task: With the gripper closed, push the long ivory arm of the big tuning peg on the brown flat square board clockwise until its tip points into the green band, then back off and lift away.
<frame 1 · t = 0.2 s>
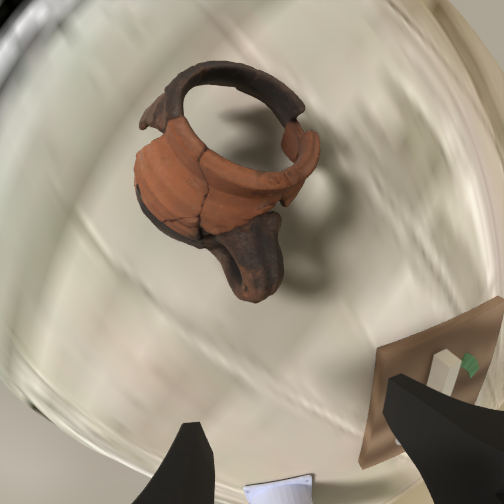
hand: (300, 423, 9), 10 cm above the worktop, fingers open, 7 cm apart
peg lever: (433, 411, 19), point 4 cm above the worktop, hinge at 0.0°
pottery mug: (222, 185, 17), on the worktop
brown flat square board: (435, 388, 23), on the worktop
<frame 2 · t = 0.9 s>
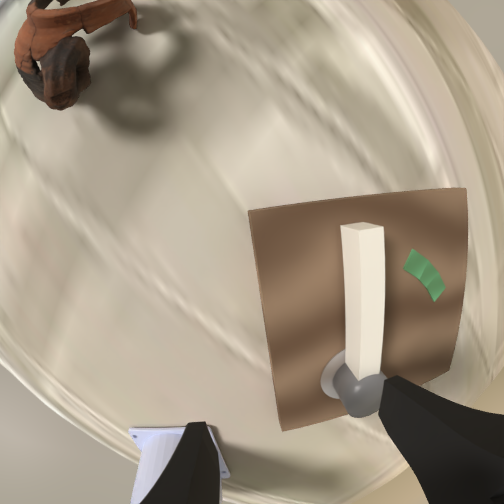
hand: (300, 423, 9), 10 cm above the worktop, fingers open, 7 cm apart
peg lever: (365, 331, 16), point 4 cm above the worktop, hinge at 0.0°
pottery mug: (84, 60, 14), on the worktop
brown flat square board: (378, 311, 20), on the worktop
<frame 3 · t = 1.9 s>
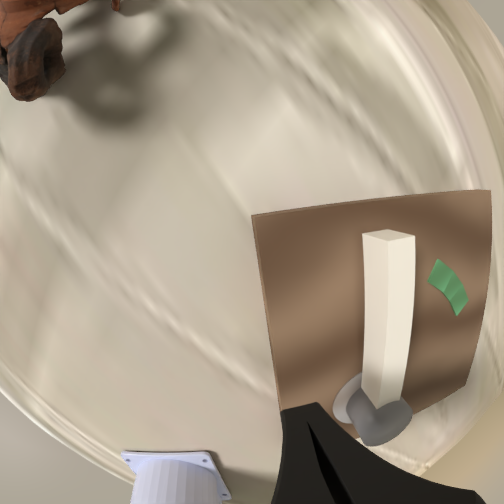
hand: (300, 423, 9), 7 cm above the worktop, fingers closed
peg lever: (387, 355, 13), point 3 cm above the worktop, hinge at 0.0°
pottery mug: (63, 48, 11), on the worktop
brown flat square board: (397, 328, 17), on the worktop
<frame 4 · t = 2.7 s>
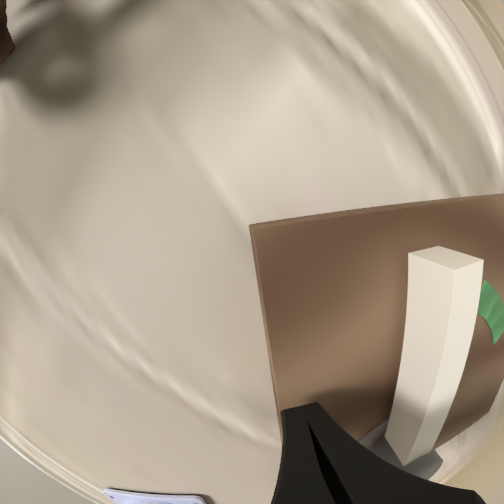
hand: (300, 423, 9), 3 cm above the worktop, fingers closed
peg lever: (424, 407, 9), point 3 cm above the worktop, hinge at 0.0°
pottery mug: (20, 25, 6), on the worktop
brown flat square board: (429, 362, 12), on the worktop
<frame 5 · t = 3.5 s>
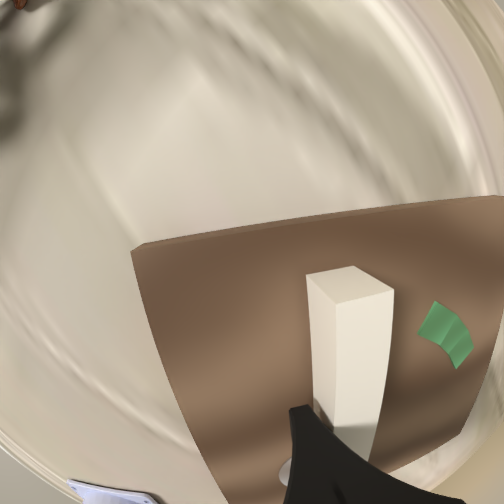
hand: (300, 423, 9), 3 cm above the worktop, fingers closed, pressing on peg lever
peg lever: (343, 442, 8), point 3 cm above the worktop, hinge at -0.2°, touching gripper
brown flat square board: (372, 386, 12), on the worktop
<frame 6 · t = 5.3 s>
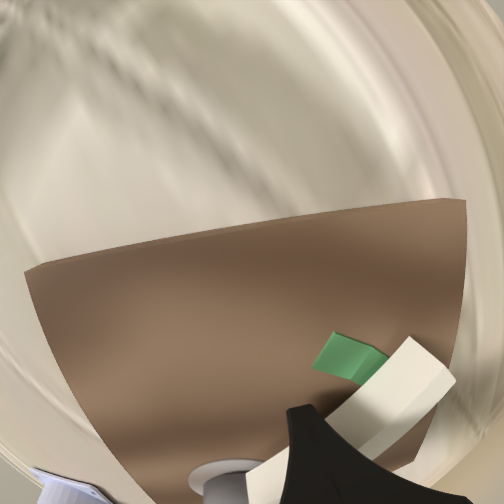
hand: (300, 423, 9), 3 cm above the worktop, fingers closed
peg lever: (313, 470, 8), point 4 cm above the worktop, hinge at -49.7°, touching gripper
brown flat square board: (281, 411, 12), on the worktop
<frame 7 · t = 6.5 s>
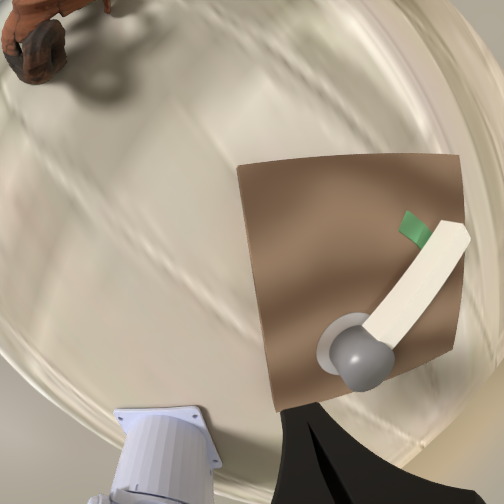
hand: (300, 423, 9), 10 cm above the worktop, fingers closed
peg lever: (408, 303, 16), point 4 cm above the worktop, hinge at -50.0°
pottery mug: (64, 44, 13), on the worktop
brown flat square board: (375, 279, 19), on the worktop
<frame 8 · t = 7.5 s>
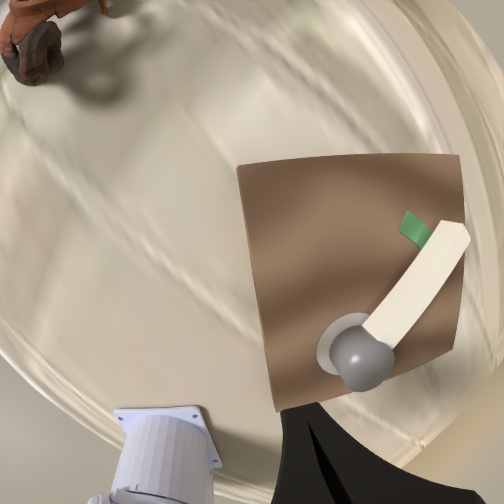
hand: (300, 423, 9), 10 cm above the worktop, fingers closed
peg lever: (408, 303, 16), point 4 cm above the worktop, hinge at -50.0°
pottery mug: (61, 45, 13), on the worktop
brown flat square board: (375, 279, 19), on the worktop
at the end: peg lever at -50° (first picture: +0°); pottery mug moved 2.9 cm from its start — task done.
